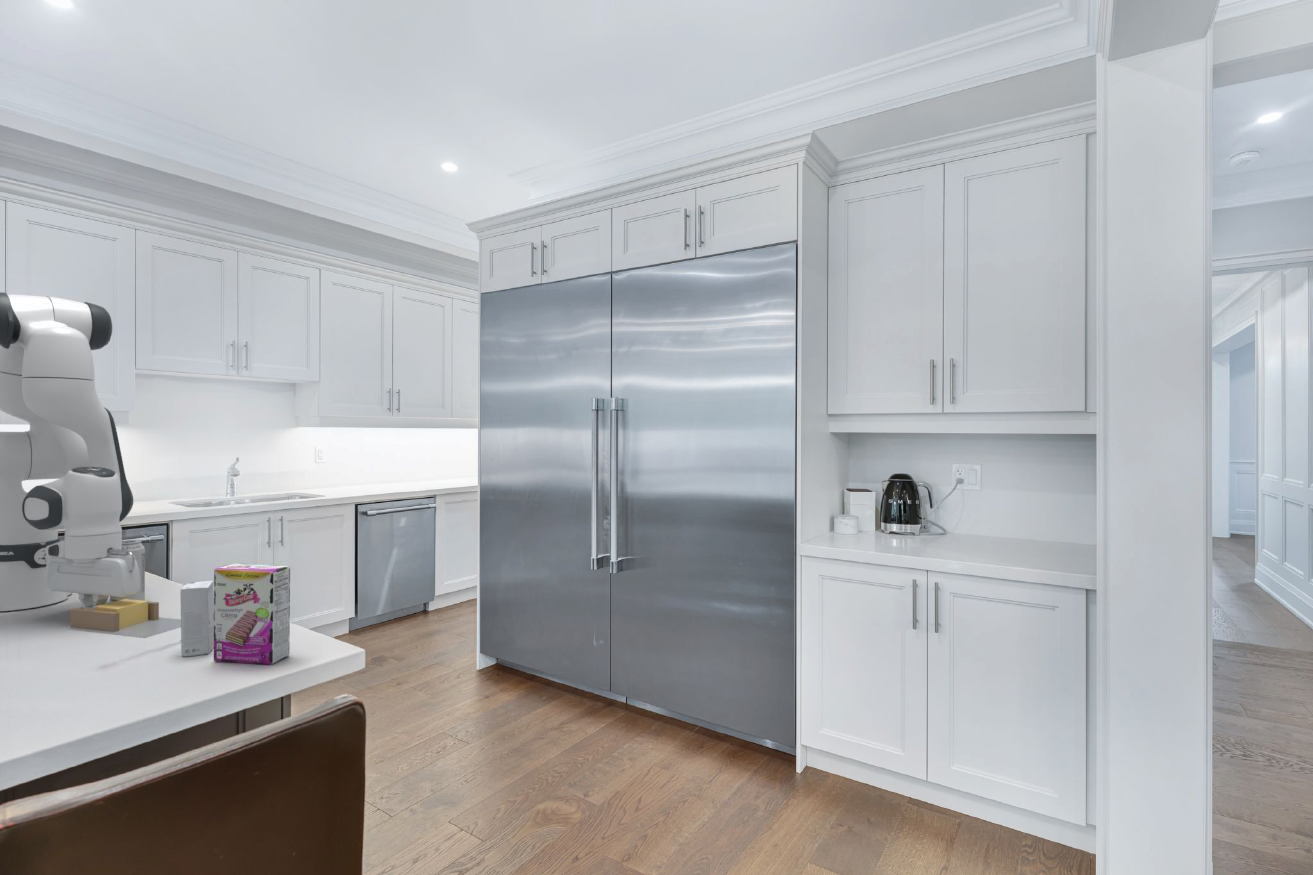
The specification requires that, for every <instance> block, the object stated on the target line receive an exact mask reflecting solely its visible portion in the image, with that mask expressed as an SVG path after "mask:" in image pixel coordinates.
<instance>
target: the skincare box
mask: <svg viewBox="0 0 1313 875" xmlns="http://www.w3.org/2000/svg"><path fill="white" fill-rule="evenodd" d="M180 619H181V627H180V647H181V649H180V650H181V657H193V656H202V655H208V654H210V653H211V651H212V650H214V581H213V580H205V581H204V580H203V581H195V582H187V583H186V584H184V585H183V587H182V588H181V589H180Z"/></svg>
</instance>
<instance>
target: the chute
mask: <svg viewBox="0 0 1313 875" xmlns="http://www.w3.org/2000/svg"><path fill="white" fill-rule="evenodd" d="M119 600H123V599H120V598H117V599H112V602H115V601H119ZM147 601H148V600H147ZM159 606H160V602H158V601H148V621H145V622H142V623H138V624H135V625H131V626H128V627H124V628H121V629H119V612H110V611H100V610H90V609H84V608H80V607H79V608H78V607H76V608H71V609H70V626H69V627H66V628H65V630H69V631H70V630H71V631H78V632H79V631H80V632H86V633H87V632H88V633H95V634H96V633H97V634H105V635H114V636H123V637H132V638H140V639H141V638H142V639H146V638H151V637H153V636H156V635H160V634H163V633H166V632H170V631H173V630H176V629H179V628H181V618H180V619H179V618H170V617H162V616H161V617H160V615H159V614H160V607H159Z"/></svg>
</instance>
